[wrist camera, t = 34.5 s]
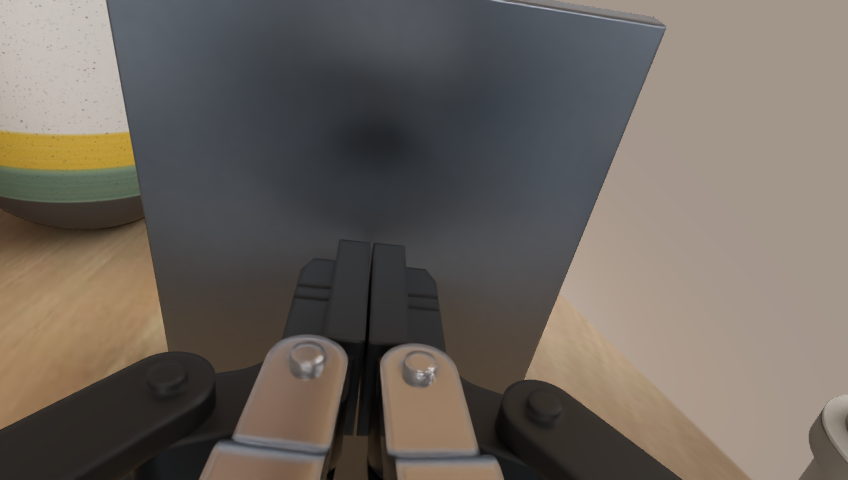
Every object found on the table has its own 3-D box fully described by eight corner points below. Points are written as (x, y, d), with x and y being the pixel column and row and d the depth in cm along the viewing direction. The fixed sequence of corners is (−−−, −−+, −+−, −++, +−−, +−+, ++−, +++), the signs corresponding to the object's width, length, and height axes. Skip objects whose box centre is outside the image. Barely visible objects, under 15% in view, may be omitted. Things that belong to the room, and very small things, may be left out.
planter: (100, 154, 58) (69, -73, 48) (258, 202, 54) (259, -38, 44) (-113, 223, 41) (-230, -105, 31) (90, 300, 37) (30, -52, 27)
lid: (108, -73, 12) (91, -69, 11) (655, 16, 13) (668, 25, 12) (180, 367, 20) (173, 385, 19) (509, 391, 22) (513, 408, 21)
